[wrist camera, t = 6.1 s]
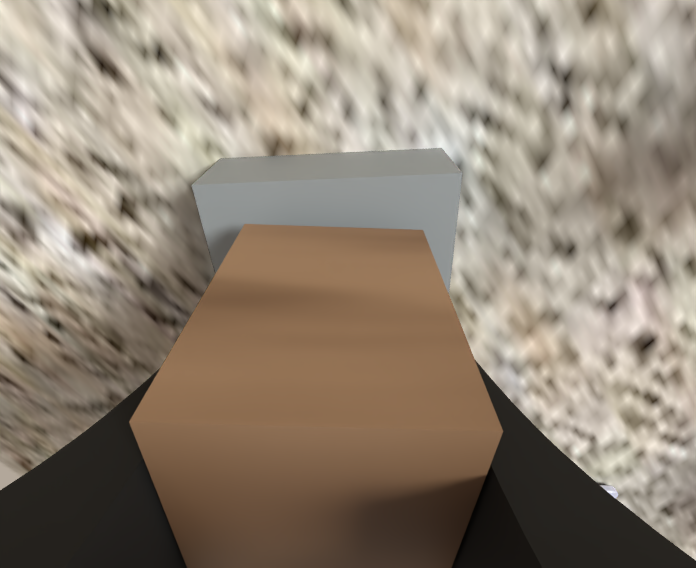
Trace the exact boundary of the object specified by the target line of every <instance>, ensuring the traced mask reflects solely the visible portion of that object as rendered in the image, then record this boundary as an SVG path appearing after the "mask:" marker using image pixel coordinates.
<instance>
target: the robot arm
mask: <svg viewBox="0 0 696 568" xmlns="http://www.w3.org/2000/svg"><path fill="white" fill-rule="evenodd" d="M475 362H476V360H475ZM476 364H477V367H478V369H479V372H480V374H481V377H482V379H483V382H484V384H485V387H486V389H487V392H488V394H489V397H490V399H491V402H492V404H493V407H494V409H495V412H496V414H497V417H498V420H499V422H500V425H501V427H502V430H503V433H502V436H501V439H500V441H499V444H498V447H497V449H496V452H495V454H494V457H493V460H492V462H491V465H490V468H489V470H488V473H487V476H486V478H485V481H484V483H483V486H482V489H481V491H480V494H479V497H478V499H477V502H476V504H475V507H474V510H473V512H472V515H471V518H470V520H469V523H468V526H467V528H466V531H465V533H464V536H463V539H462V541H461V544H460V547H459V549H458V552H457V554H456V557H455V560H454V562H453V565H452V568H696V561H695V560H694V559H693V558H691V557H690V556H689V555H687V554H686V553H685V552H683V551H682V550H681V549H679V548H678V547H677V546H675V545H674V544H673V543H671V542H670V541H669V540H667V539H666V538H665V537H663V536H662V535H661V534H659V533H658V532H657V531H656V530H654V529H653V528H652V527H651V526H649V525H648V524H647V523H645V522H644V521H643V520H642V519H640V518H639V517H638V516H637V515H635V514H634V513H633V512H632V511H630V510H629V509H628V508H627V507H625V506H624V505H623V504H622V503H620V502H619V501H618V500H617V499H616V498H617V496H618V493H617V491H616V489H615V487H613V486H609V485H599V484H597V483H596V482H595V481H594V480H593V479H592V478H590V477H589V476H588V475H587V474H586V473H585V472H584V471H583V470H581V469H580V468H579V467H578V466H577V465H576V464H575V463H574V462H573V461H571V460H570V459H569V458H568V457H567V456H566V455H565V454H564V453H562V452H561V451H560V450H559V449H558V448H557V447H556V446H555V445H554V444H553V443H552V442H551V441H550V440H549V439H548V438H546V437H545V436H544V435H543V434H542V433H541V432H540V431H539V430H538V429H537V428H536V427H535V426H534V425H533V424H532V423H531V421H530V420H529V419H528V418H527V417H526V416H525V415H524V414H523V413H522V412H521V411H520V410H519V409H518V408H517V407H516V406H515V405H514V404H513V403H512V402H511V401H510V399H509V398H508V397H507V396H506V395H505V394H504V393H503V392H502V390H501V389H500V388H499V387H498V386H497V385H496V384H495V383H494V381H493V380H492V379H491V378H490V377H489V376H488V375H487V373H486V372H485V371H484V370H483V369H482V368H481V366H480V365H479V364H478V363H477V362H476ZM159 370H160V369H159ZM159 370H157V371H156V372H155V373H154V374H153V375H152V376H151V377H150V378H149V379H148V380H146V381H145V382H144V383H143V384H142V385H141V386H140V387H139V388H137V389H136V390H135V391H134V392H133V393H132V394H130V395H129V396H128V397H127V398H126V399H124V400H123V401H122V402H121V403H120V404H118V405H117V406H116V407H115V408H114V409H112V410H111V411H110V412H109V413H108V414H107V415H105V416H104V417H103V418H102V419H100V420H99V421H98V422H97V423H95V424H94V425H93V426H92V427H90V428H89V429H88V430H86V431H85V432H84V433H82V434H81V435H80V436H78V437H77V438H76V439H74V440H73V441H72V442H70V443H69V444H67V445H66V446H65V447H63V448H62V449H61V450H59V451H58V452H56V453H55V454H54V455H52V456H51V457H49V458H48V459H47V460H45V461H44V462H42V463H41V464H40V465H38V466H37V467H35V468H34V469H32V470H31V471H29V472H28V473H26V474H25V475H23V476H22V477H20V478H19V479H17V480H16V481H14V482H12V483H11V484H9V485H8V486H7V487H5V488H3V489H2V490H0V568H187V566H186V564H185V561H184V559H183V556H182V554H181V551H180V549H179V546H178V544H177V541H176V539H175V536H174V534H173V531H172V529H171V526H170V524H169V521H168V519H167V516H166V514H165V511H164V509H163V506H162V504H161V501H160V499H159V496H158V494H157V491H156V488H155V486H154V483H153V481H152V478H151V476H150V473H149V471H148V468H147V466H146V463H145V461H144V458H143V456H142V453H141V451H140V448H139V446H138V443H137V441H136V438H135V436H134V433H133V431H132V428H131V426H130V423H129V421H130V419H131V418H132V416H133V414H134V413H135V411H136V409H137V407H138V406H139V404H140V402H141V401H142V399H143V397H144V395H145V394H146V392H147V390H148V389H149V387H150V385H151V384H152V382H153V380H154V378H155V377H156V375H157V373H158V372H159Z"/></svg>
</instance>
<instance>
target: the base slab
mask: <svg viewBox="0 0 696 568" xmlns="http://www.w3.org/2000/svg"><path fill="white" fill-rule="evenodd" d="M461 181H462V172H461V171H460V170H459V168H458V167H457V166H456V165H455V164H454V162H453V161H452V160H451V159H450V158H449V156H448V155H447V154H446V153H445V151H444V150H443V149H442V148H431V149H410V150H389V151H368V152H347V153H326V154H305V155H284V156H263V157H242V158H221V159H219V160H218V161H217V162H216V163H215V164H214V165H213V166H212V167H211V168H210V169H209V170H207V171H206V172H205V173H204V174H203V175H202V176H201V177H200V178H199V179H198V180H196V181H195V182H194V183H193V184H192V189H193V193H194V196H195V200H196V204H197V207H198V211H199V215H200V219H201V222H202V226H203V230H204V234H205V237H206V241H207V245H208V248H209V252H210V256H211V260H212V263H213V267H214V271H215V274H216V272H217V270H218V269H219V267H220V265H221V264H222V262H223V260H224V258H225V257H226V255H227V253H228V252H229V250H230V248H231V246H232V245H233V243H234V241H235V240H236V238H237V236H238V234H239V233H240V231H241V229H242V228H243V226H244V224H263V225H293V226H323V227H353V228H383V229H412V230H423V231H424V234H425V236H426V239H427V241H428V244H429V246H430V249H431V251H432V254H433V256H434V259H435V261H436V264H437V266H438V269H439V271H440V274H441V276H442V279H443V281H444V284H445V286H446V289H447V291H448V294H449V288H450V279H451V270H452V261H453V252H454V243H455V234H456V226H457V217H458V208H459V199H460V190H461Z"/></svg>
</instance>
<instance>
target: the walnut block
mask: <svg viewBox="0 0 696 568" xmlns="http://www.w3.org/2000/svg"><path fill="white" fill-rule="evenodd" d="M129 423H130V426H131V428H132V431H133V433H134V436H135V438H136V441H137V443H138V446H139V448H140V451H141V453H142V456H143V458H144V461H145V463H146V466H147V468H148V471H149V473H150V476H151V478H152V481H153V483H154V486H155V488H156V491H157V494H158V496H159V499H160V501H161V504H162V506H163V509H164V511H165V514H166V516H167V519H168V521H169V524H170V526H171V529H172V531H173V534H174V536H175V539H176V541H177V544H178V546H179V549H180V551H181V554H182V556H183V559H184V561H185V564H186V566H187V568H452V565H453V562H454V560H455V557H456V554H457V552H458V549H459V547H460V544H461V541H462V539H463V536H464V533H465V531H466V528H467V526H468V523H469V520H470V518H471V515H472V512H473V510H474V507H475V504H476V502H477V499H478V497H479V494H480V491H481V489H482V486H483V483H484V481H485V478H486V476H487V473H488V470H489V468H490V465H491V462H492V460H493V457H494V454H495V452H496V449H497V447H498V444H499V441H500V439H501V436H502V433H503V430H502V427H501V425H500V422H499V420H498V417H497V414H496V412H495V409H494V407H493V404H492V402H491V399H490V397H489V394H488V392H487V389H486V387H485V384H484V382H483V379H482V377H481V374H480V372H479V369H478V367H477V364H476V362H475V359H474V357H473V354H472V352H471V349H470V347H469V344H468V342H467V339H466V337H465V334H464V332H463V329H462V327H461V324H460V322H459V319H458V317H457V314H456V312H455V309H454V307H453V304H452V301H451V299H450V296H449V294H448V291H447V289H446V286H445V284H444V281H443V279H442V276H441V274H440V271H439V269H438V266H437V264H436V261H435V259H434V256H433V254H432V251H431V249H430V246H429V244H428V241H427V239H426V236H425V234H424V231H423V230H412V229H383V228H353V227H323V226H293V225H263V224H244V226H243V228H242V229H241V231H240V233H239V234H238V236H237V238H236V240H235V241H234V243H233V245H232V246H231V248H230V250H229V252H228V253H227V255H226V257H225V258H224V260H223V262H222V264H221V265H220V267H219V269H218V270H217V272H216V274H215V276H214V277H213V279H212V281H211V282H210V284H209V286H208V288H207V289H206V291H205V293H204V294H203V296H202V298H201V300H200V301H199V303H198V305H197V306H196V308H195V310H194V312H193V313H192V315H191V317H190V318H189V320H188V322H187V324H186V325H185V327H184V329H183V330H182V332H181V334H180V336H179V337H178V339H177V341H176V342H175V344H174V346H173V348H172V349H171V351H170V353H169V354H168V356H167V358H166V360H165V361H164V363H163V365H162V366H161V368H160V370H159V372H158V373H157V375H156V377H155V378H154V380H153V382H152V384H151V385H150V387H149V389H148V390H147V392H146V394H145V395H144V397H143V399H142V401H141V402H140V404H139V406H138V407H137V409H136V411H135V413H134V414H133V416H132V418H131V419H130V421H129Z"/></svg>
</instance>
